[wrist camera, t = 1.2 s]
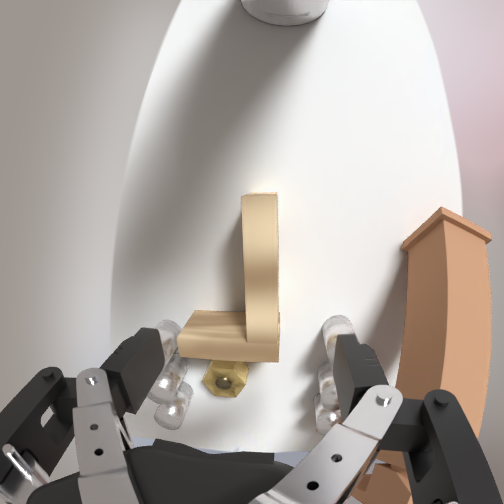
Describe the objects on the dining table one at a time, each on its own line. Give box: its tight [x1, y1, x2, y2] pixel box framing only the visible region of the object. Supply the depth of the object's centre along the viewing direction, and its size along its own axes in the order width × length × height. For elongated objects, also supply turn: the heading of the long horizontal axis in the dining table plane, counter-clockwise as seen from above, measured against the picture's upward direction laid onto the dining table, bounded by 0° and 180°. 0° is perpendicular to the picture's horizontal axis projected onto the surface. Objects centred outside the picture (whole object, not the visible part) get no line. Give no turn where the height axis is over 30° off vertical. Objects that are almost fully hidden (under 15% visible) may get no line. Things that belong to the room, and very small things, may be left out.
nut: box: [202, 360, 249, 397], centre depth 30 cm, size 4×5×3 cm
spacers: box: [147, 315, 360, 435], centre depth 28 cm, size 14×22×6 cm, turn 92°
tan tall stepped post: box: [316, 206, 492, 504], centre depth 24 cm, size 7×23×25 cm
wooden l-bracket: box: [177, 192, 280, 362], centre depth 25 cm, size 14×9×6 cm, turn 2°
